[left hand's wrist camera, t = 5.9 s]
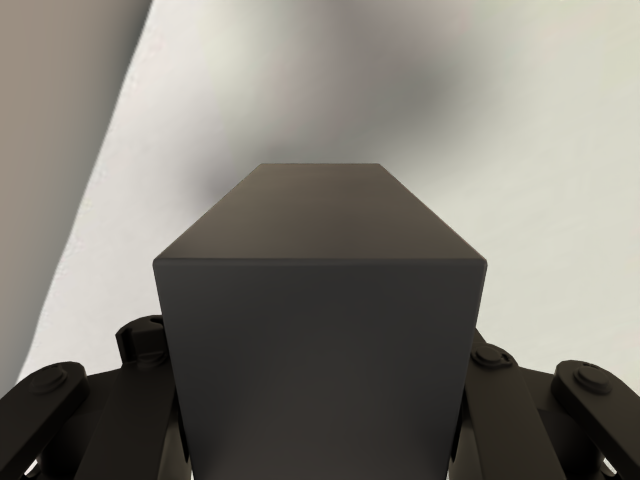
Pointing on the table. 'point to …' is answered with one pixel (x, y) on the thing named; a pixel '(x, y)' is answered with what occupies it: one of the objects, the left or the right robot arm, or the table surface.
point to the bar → (320, 328)
